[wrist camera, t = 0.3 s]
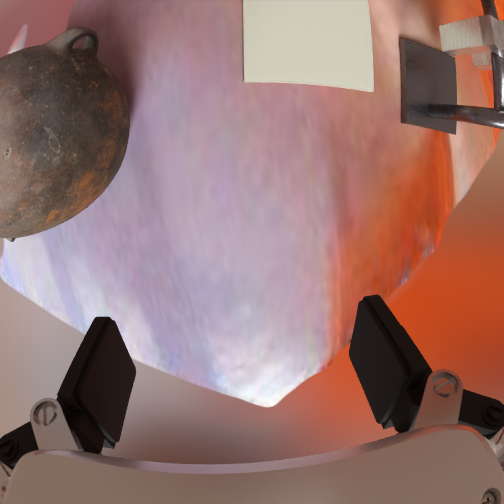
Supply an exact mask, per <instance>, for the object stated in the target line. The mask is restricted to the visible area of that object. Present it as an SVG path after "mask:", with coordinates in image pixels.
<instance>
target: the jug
mask: <svg viewBox="0 0 504 504" xmlns="http://www.w3.org/2000/svg"><path fill="white" fill-rule="evenodd" d="M84 37H85V39H84V42H83V44H82V46H81V47H79V48H76V49H72V46H73V44H74V43H75V42H76V41H78V40H80V39H82V38H84ZM98 42H99V41H98V36H97V34H96V33H95V32H94V31H92V30H90V29H87V28H84V27H75V28H71V29H69V30H67V31H65V32H63V33H62V34H60V35H59V36H57V37H56V38H54V39H52V40H51V41H49V42H48V43H46V44H43V45H39V46H34V47H29V48H25V49H22V50H19V51H16V52H13V53H11V54H8V55H6V56H4V57H2V58H0V237H2V238H6V239H8V240H9V241H11V242H13V241H14V240H15V238H19V237H24V236H29V235H33V234H36V233H39V232H42V231H45V230H48V229H50V228H53V227H55V226H57V225H59V224H61V223H64V222H65V221H67V220H69V219H71V218H73V217H74V216H75V215H77V214H78V213H80V212H81V211H83V210H84V209H85V208H87V207H88V206H89V205H90V204H91V203H93V202H94V201H95V200H96V199H97V198H98V197H99V196H100V195H101V194H102V193H103V192H104V190H105V189H106V188H107V187H108V186H109V184H110V183H111V181H112V180H113V179H114V177H115V175H116V174H117V172H118V170H119V168H120V166H121V164H122V161H123V159H124V156H125V153H126V149H127V144H128V138H129V128H130V116H129V109H128V102H127V98H126V95H125V93H124V91H123V89H122V87H121V85H120V83H119V82H118V80H117V79H116V78H115V76H114V75H113V74H112V73H111V72H110V71H109V70H108V69H107V68H106V67H105V66H104V65H103V64H102V63H100V62H99V61H98V59H97V50H98Z"/></svg>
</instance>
